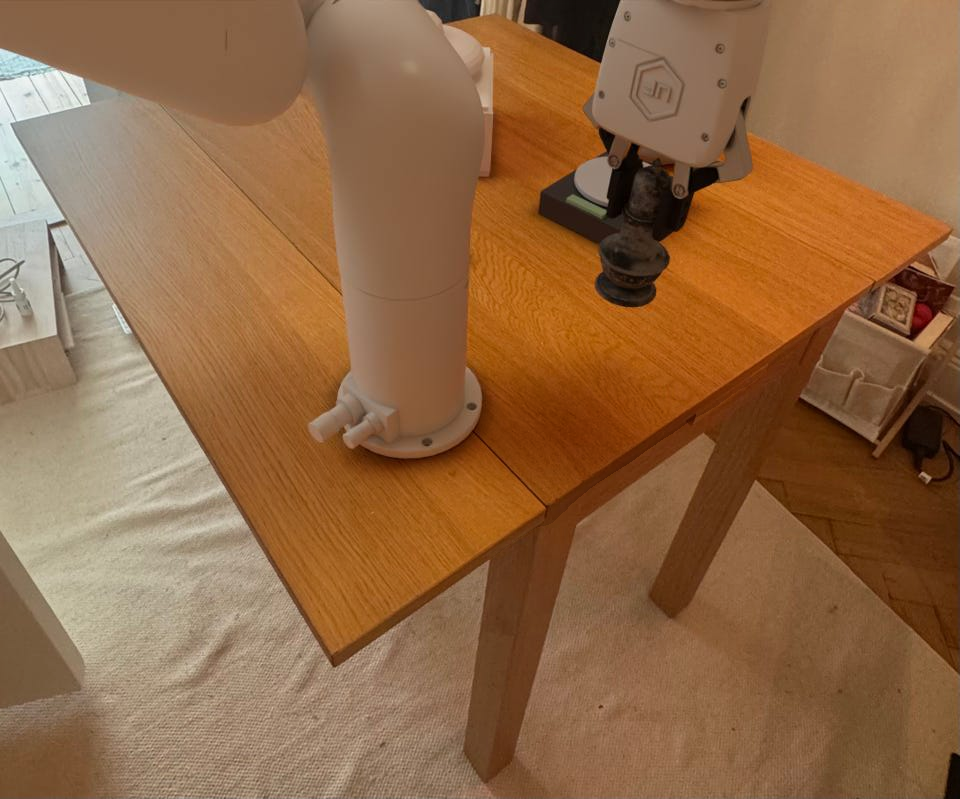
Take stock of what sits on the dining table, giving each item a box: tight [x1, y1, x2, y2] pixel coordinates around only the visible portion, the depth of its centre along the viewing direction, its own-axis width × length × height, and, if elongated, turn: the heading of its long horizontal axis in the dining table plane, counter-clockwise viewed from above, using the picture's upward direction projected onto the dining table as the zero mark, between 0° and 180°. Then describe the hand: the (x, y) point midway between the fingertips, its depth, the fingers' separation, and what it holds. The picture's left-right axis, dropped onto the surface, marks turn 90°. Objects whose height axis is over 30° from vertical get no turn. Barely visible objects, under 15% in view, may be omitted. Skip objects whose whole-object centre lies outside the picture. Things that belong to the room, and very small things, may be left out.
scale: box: [537, 150, 673, 245], centre depth 86 cm, size 14×12×4 cm
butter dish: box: [424, 8, 495, 178], centre depth 92 cm, size 18×18×16 cm
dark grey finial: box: [594, 158, 671, 308], centre depth 58 cm, size 6×6×12 cm
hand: (642, 220), depth 58 cm, fingers closed on dark grey finial, 3 cm apart
